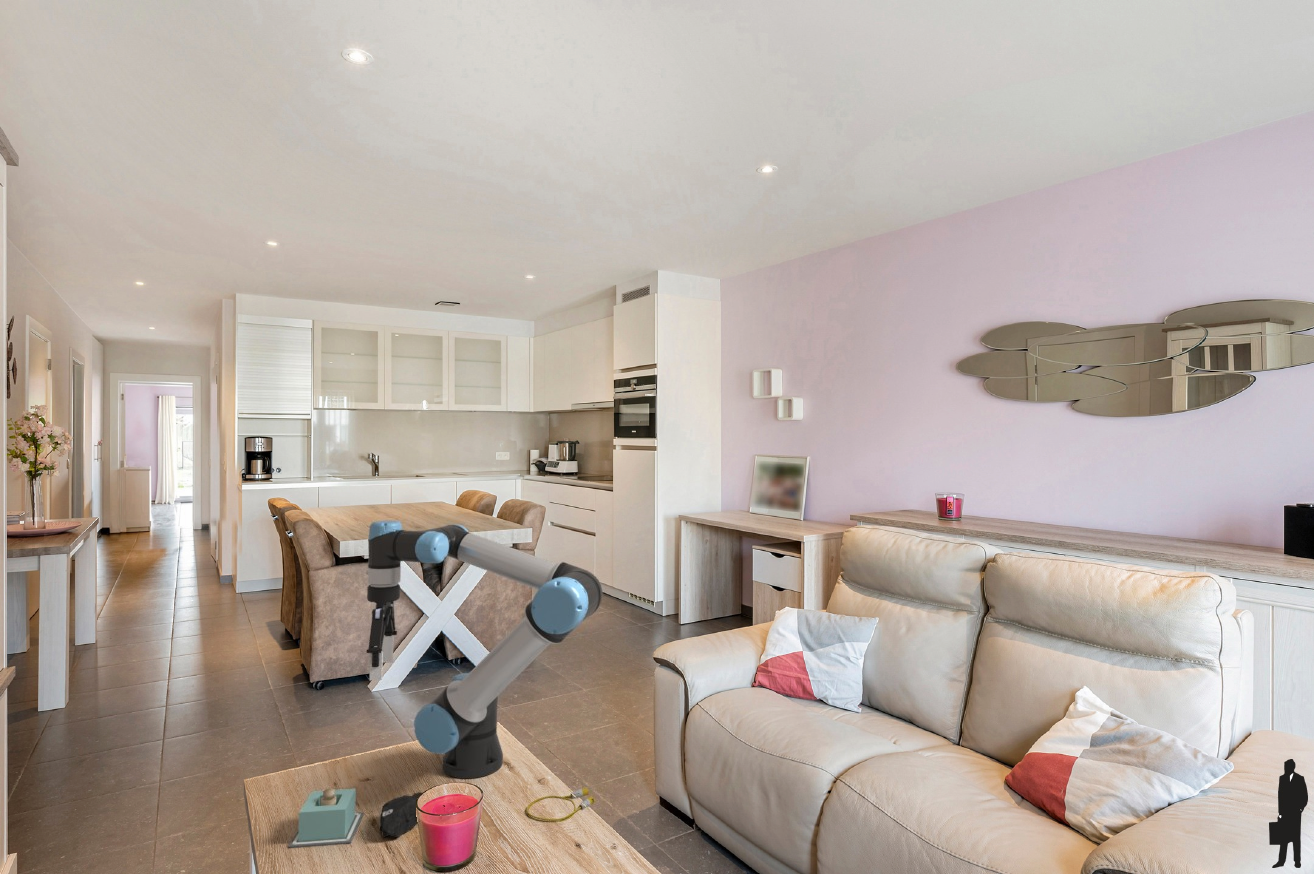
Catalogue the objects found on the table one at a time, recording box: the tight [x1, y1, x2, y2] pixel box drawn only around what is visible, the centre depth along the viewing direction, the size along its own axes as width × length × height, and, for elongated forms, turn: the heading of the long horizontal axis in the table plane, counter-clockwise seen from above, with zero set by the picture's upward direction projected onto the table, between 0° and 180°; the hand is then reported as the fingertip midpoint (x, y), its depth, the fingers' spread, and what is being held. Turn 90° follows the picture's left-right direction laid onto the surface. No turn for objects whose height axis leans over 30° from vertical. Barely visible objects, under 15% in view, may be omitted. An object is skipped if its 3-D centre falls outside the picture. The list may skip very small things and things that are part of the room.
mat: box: [287, 811, 365, 849], centre depth 151 cm, size 12×12×1 cm
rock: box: [379, 791, 424, 838], centre depth 152 cm, size 10×9×6 cm
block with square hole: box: [298, 788, 357, 842], centre depth 151 cm, size 9×9×6 cm
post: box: [321, 787, 336, 806], centre depth 151 cm, size 3×3×8 cm
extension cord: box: [525, 788, 595, 823], centre depth 162 cm, size 12×16×2 cm
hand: (381, 670), depth 174 cm, fingers open, 13 cm apart
